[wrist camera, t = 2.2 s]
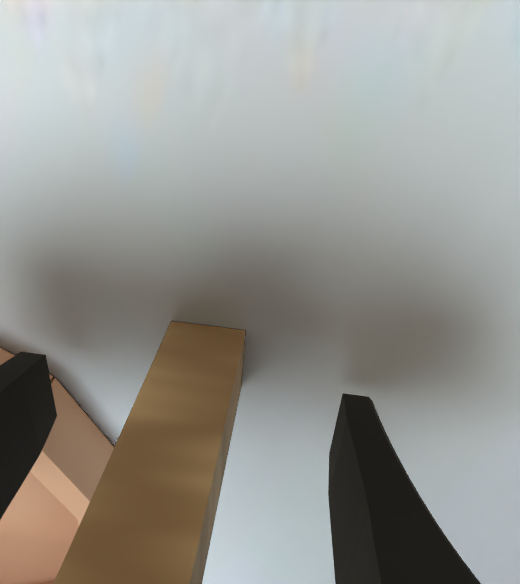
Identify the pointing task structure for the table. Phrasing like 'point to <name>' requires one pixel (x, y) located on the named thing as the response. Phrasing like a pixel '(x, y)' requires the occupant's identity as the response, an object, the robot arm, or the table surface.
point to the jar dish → (52, 494)
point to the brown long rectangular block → (164, 467)
